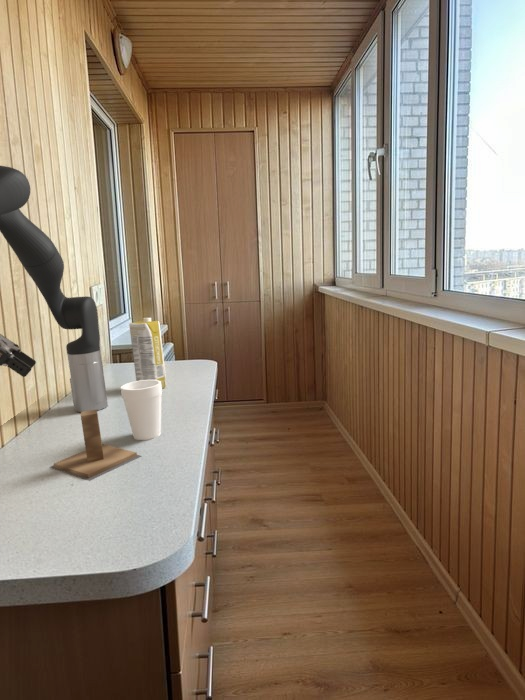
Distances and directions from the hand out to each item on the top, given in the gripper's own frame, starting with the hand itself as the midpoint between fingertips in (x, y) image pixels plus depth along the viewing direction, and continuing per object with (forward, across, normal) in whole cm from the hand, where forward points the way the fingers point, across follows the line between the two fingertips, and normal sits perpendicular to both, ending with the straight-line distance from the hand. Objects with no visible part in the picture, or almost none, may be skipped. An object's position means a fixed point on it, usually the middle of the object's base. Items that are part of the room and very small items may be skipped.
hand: (31, 369), depth 96 cm
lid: (+22, 0, +8) cm, 23 cm away
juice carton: (+35, +58, -6) cm, 68 cm away
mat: (+22, 0, +8) cm, 24 cm away
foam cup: (+31, +10, 0) cm, 32 cm away
